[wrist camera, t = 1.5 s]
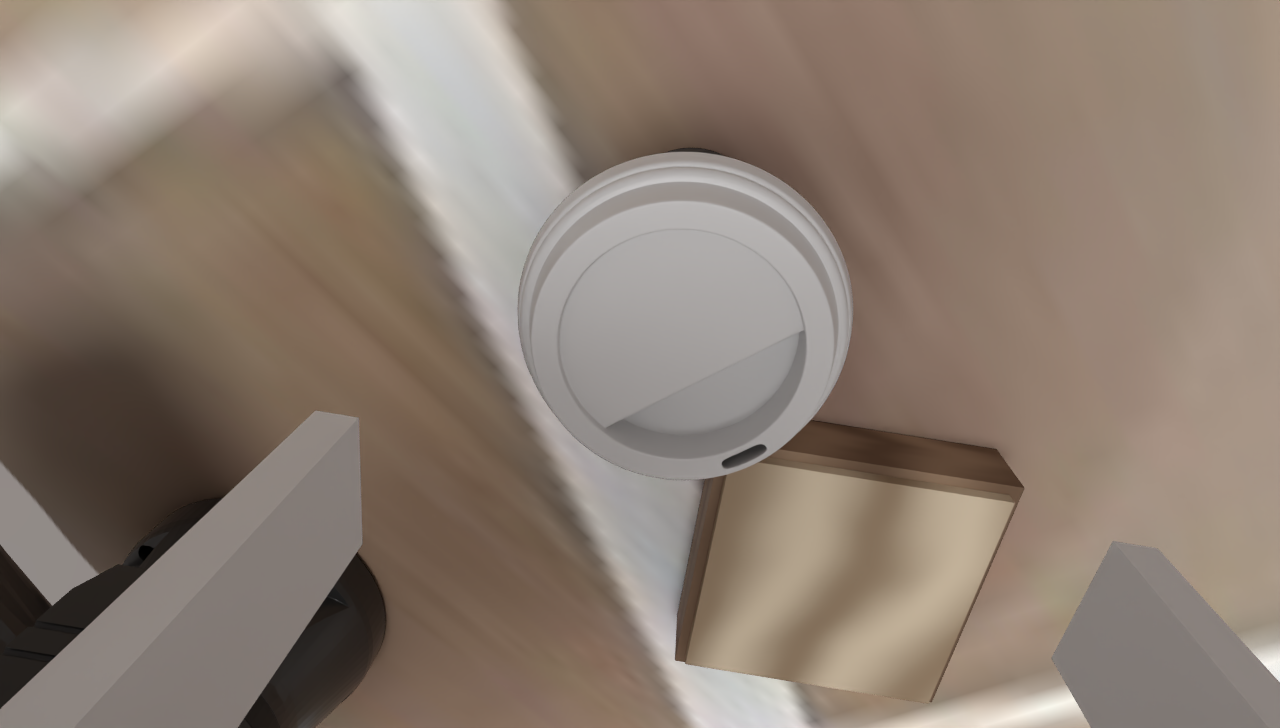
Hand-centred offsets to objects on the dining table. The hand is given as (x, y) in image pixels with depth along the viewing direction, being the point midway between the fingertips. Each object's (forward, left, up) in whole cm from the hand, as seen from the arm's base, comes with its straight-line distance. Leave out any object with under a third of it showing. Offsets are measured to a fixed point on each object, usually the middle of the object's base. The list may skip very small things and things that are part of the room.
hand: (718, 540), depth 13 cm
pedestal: (+9, -15, -22) cm, 28 cm away
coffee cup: (-1, +1, -22) cm, 22 cm away
